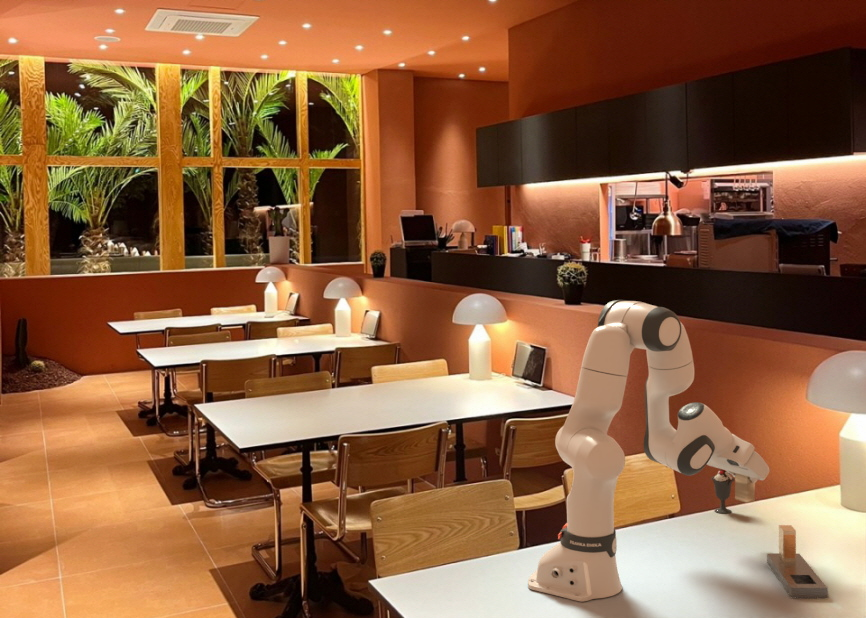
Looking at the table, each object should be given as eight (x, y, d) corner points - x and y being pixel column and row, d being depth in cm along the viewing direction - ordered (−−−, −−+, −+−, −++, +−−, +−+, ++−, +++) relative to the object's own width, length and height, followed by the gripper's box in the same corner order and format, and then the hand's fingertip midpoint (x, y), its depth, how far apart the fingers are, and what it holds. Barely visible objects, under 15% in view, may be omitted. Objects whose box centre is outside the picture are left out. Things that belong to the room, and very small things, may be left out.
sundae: (719, 515, 263) (719, 466, 262) (707, 509, 270) (706, 461, 268) (739, 513, 265) (738, 464, 264) (726, 507, 271) (725, 458, 270)
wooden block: (746, 502, 236) (747, 466, 236) (734, 499, 240) (735, 462, 239) (754, 501, 238) (755, 464, 237) (742, 497, 241) (742, 461, 241)
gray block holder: (791, 598, 203) (791, 553, 202) (766, 562, 225) (766, 522, 224) (827, 598, 202) (827, 553, 201) (799, 563, 224) (799, 522, 223)
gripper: (685, 449, 241) (711, 478, 247) (745, 465, 223) (771, 496, 229) (697, 430, 243) (722, 460, 249) (757, 445, 225) (783, 477, 231)
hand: (746, 478), depth 239 cm, fingers closed on wooden block, 4 cm apart
